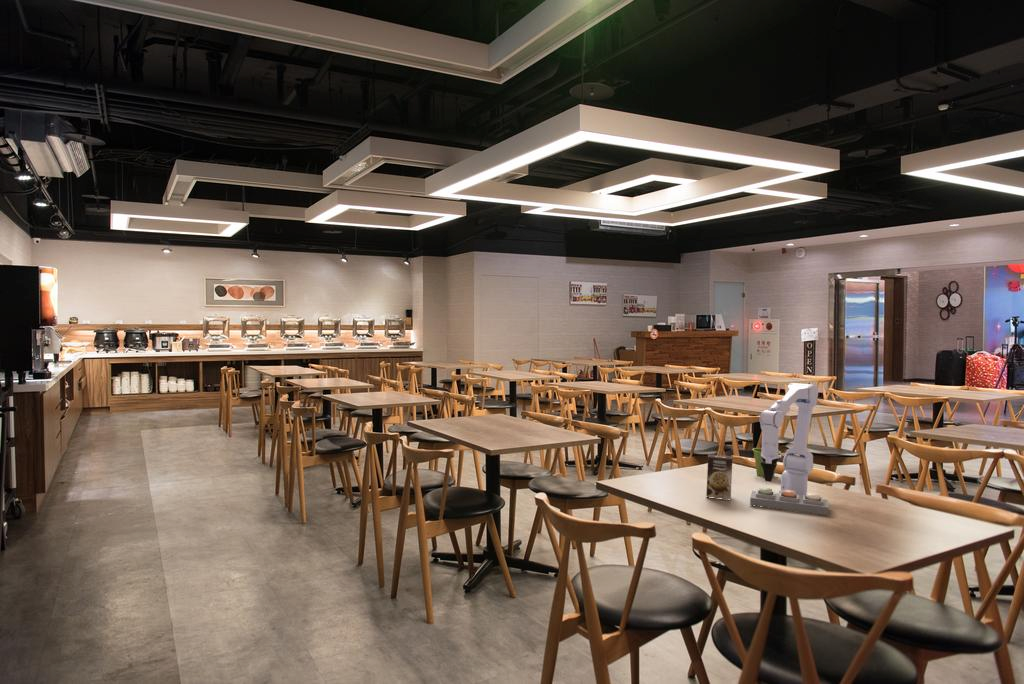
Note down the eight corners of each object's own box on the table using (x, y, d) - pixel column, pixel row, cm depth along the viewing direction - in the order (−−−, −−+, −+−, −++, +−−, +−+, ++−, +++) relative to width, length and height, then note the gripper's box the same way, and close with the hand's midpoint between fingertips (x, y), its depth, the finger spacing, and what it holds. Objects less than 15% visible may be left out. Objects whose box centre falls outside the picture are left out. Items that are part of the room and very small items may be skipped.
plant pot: (777, 480, 274) (778, 454, 274) (749, 476, 281) (749, 450, 280) (782, 474, 285) (783, 449, 284) (754, 471, 291) (755, 446, 290)
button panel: (750, 505, 235) (750, 494, 235) (751, 498, 245) (752, 487, 245) (828, 515, 224) (829, 504, 224) (827, 507, 234) (827, 496, 234)
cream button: (806, 499, 230) (806, 495, 230) (806, 496, 234) (806, 492, 234) (819, 500, 228) (820, 496, 228) (819, 497, 232) (819, 493, 232)
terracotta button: (782, 496, 233) (782, 492, 233) (782, 493, 237) (782, 489, 237) (795, 497, 231) (795, 493, 231) (795, 494, 235) (795, 490, 235)
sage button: (759, 493, 237) (759, 489, 236) (759, 490, 241) (759, 486, 240) (771, 494, 235) (771, 490, 235) (772, 492, 239) (772, 488, 239)
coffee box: (706, 498, 244) (707, 456, 243) (706, 494, 250) (707, 453, 249) (731, 501, 241) (732, 458, 240) (731, 496, 247) (732, 455, 246)
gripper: (781, 447, 228) (779, 484, 229) (782, 440, 241) (781, 476, 242) (760, 445, 231) (758, 482, 232) (762, 438, 244) (761, 474, 245)
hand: (768, 479), depth 237 cm, fingers open, 7 cm apart
